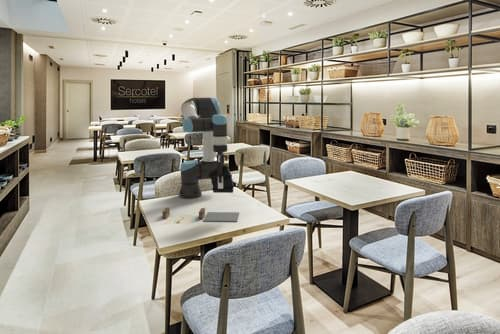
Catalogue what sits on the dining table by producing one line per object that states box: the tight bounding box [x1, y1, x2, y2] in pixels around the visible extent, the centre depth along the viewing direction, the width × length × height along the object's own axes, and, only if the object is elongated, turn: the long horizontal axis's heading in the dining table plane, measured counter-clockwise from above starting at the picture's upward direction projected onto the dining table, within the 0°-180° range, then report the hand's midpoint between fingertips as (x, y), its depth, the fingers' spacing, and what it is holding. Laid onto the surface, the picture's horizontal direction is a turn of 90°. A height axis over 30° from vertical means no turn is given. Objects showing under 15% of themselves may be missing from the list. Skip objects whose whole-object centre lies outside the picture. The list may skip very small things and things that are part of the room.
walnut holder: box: [161, 207, 206, 220], centre depth 192 cm, size 22×7×4 cm, turn 87°
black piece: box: [208, 164, 235, 194], centre depth 187 cm, size 4×13×15 cm, turn 85°
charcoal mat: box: [202, 211, 240, 223], centre depth 191 cm, size 14×18×1 cm
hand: (221, 187), depth 188 cm, fingers closed on black piece, 4 cm apart
